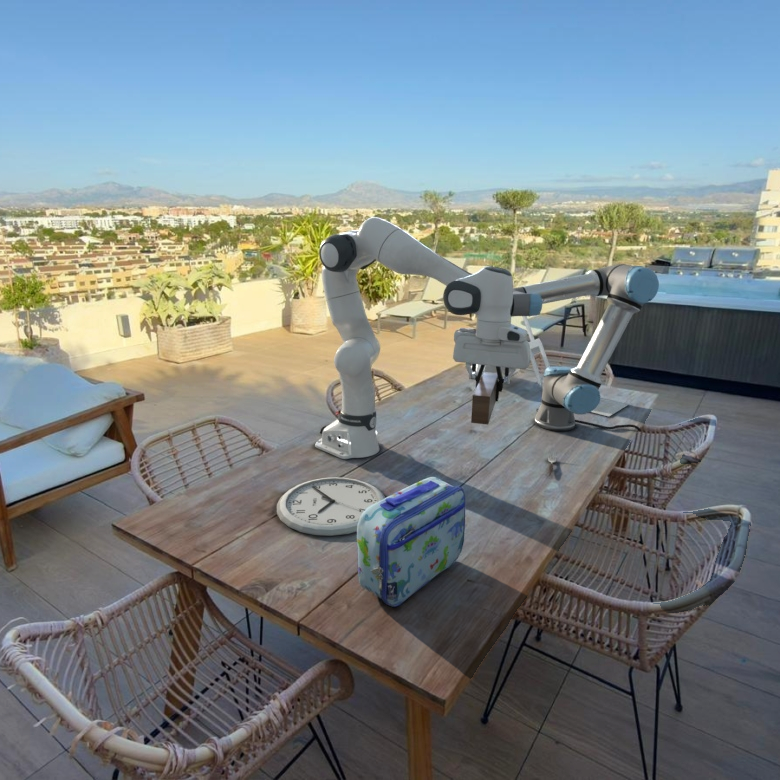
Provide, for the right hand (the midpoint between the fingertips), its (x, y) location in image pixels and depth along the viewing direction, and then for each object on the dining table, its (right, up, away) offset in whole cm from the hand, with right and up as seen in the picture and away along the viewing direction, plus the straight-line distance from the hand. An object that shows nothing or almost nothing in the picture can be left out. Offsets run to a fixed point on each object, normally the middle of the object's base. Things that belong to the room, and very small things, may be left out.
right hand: (488, 399), depth 183 cm
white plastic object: (+23, +6, +73) cm, 77 cm away
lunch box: (-30, -38, -70) cm, 85 cm away
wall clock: (-50, -28, -41) cm, 71 cm away
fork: (+17, -22, -15) cm, 32 cm away
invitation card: (+57, -4, +43) cm, 71 cm away
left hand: (-8, +6, -42) cm, 43 cm away
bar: (-3, -3, -9) cm, 10 cm away
